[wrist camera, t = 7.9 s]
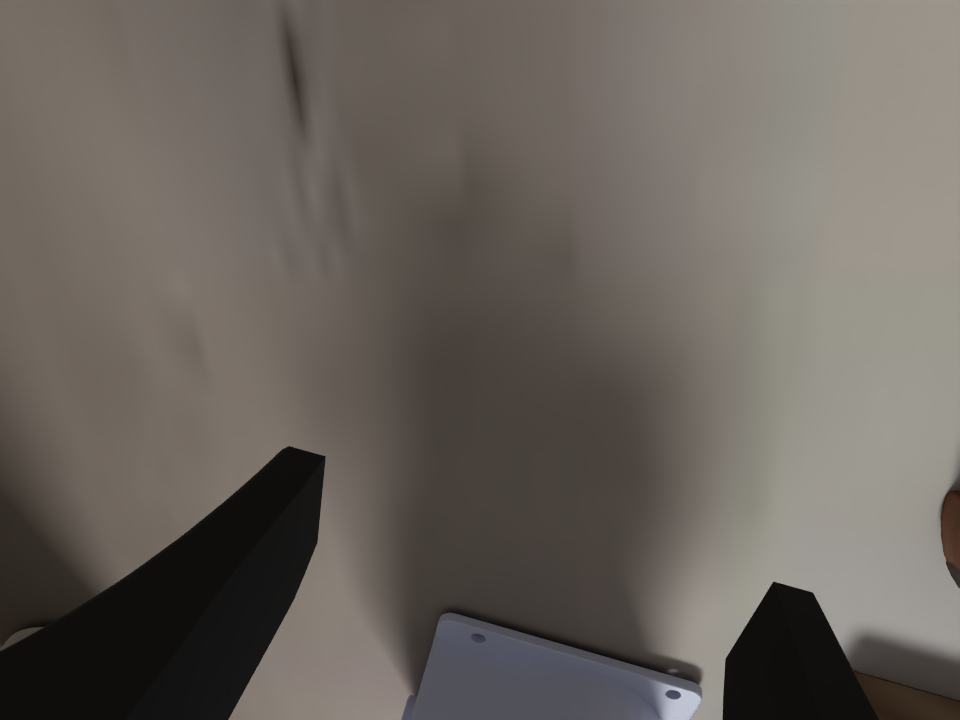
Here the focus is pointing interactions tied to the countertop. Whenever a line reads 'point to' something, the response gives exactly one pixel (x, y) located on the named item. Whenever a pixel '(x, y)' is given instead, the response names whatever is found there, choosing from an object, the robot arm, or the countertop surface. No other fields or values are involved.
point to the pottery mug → (952, 534)
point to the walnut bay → (906, 701)
